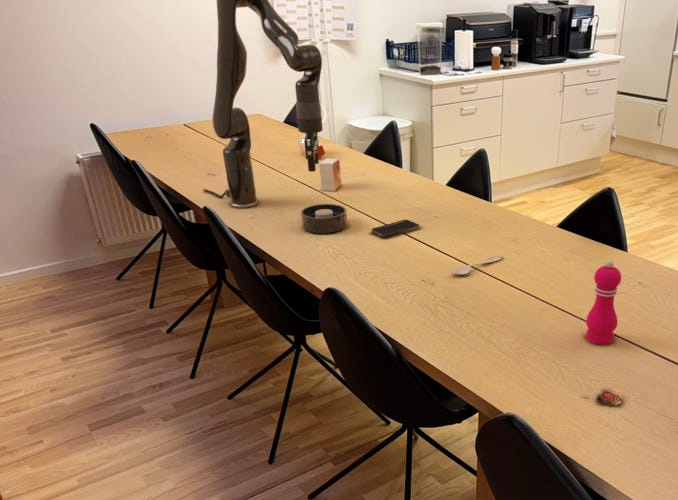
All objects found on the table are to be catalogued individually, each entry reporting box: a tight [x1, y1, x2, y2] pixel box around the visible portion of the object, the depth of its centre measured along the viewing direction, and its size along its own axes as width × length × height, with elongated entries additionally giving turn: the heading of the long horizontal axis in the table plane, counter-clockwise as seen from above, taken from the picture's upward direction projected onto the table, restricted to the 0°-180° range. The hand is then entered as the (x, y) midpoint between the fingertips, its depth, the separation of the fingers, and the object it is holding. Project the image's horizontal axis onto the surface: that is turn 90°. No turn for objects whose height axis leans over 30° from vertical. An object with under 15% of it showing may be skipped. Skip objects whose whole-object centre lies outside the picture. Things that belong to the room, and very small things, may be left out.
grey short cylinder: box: [315, 209, 333, 218], centre depth 227 cm, size 6×6×5 cm
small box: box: [318, 157, 342, 192], centre depth 263 cm, size 8×6×10 cm
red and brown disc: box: [596, 389, 622, 406], centre depth 140 cm, size 5×5×1 cm
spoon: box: [451, 256, 502, 276], centre depth 199 cm, size 4×21×2 cm, turn 135°
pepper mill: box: [585, 259, 622, 345], centre depth 157 cm, size 7×7×20 cm
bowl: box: [300, 203, 348, 235], centre depth 227 cm, size 15×15×6 cm
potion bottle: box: [298, 133, 326, 160], centre depth 306 cm, size 9×10×15 cm
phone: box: [371, 219, 420, 239], centre depth 225 cm, size 8×1×15 cm
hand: (313, 167), depth 220 cm, fingers open, 8 cm apart
